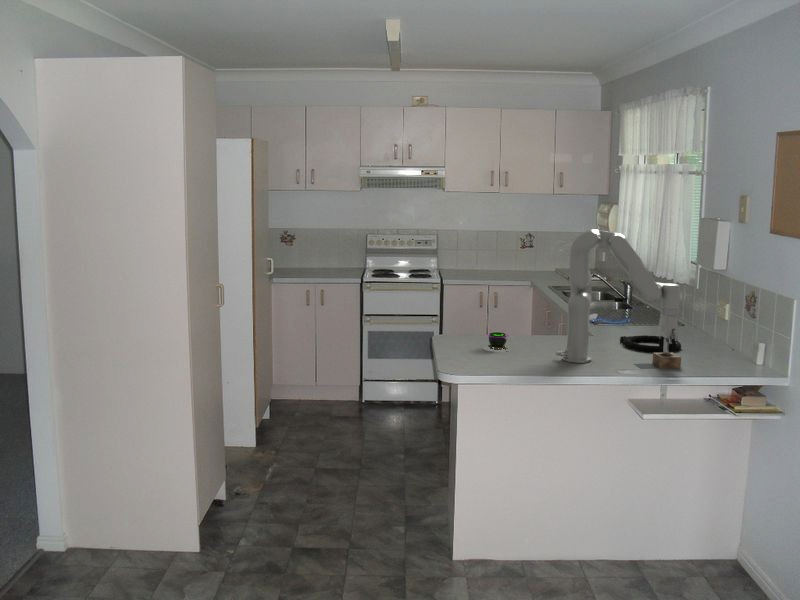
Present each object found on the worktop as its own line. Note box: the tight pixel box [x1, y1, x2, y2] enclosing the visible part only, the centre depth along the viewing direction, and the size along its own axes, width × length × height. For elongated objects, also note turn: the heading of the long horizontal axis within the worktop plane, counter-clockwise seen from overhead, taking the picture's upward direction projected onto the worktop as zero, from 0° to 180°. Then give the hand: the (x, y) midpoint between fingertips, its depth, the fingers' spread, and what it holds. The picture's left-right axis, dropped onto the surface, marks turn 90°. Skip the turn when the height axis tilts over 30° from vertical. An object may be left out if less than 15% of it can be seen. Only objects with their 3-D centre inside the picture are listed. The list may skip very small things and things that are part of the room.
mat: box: [633, 363, 683, 370], centre depth 349 cm, size 19×9×1 cm, turn 95°
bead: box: [651, 352, 682, 369], centre depth 349 cm, size 9×9×5 cm
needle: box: [663, 338, 670, 356], centre depth 348 cm, size 3×3×14 cm
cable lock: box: [619, 334, 682, 354], centre depth 389 cm, size 28×4×30 cm
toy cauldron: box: [486, 326, 510, 350], centre depth 381 cm, size 15×15×11 cm
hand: (667, 349), depth 348 cm, fingers open, 9 cm apart
